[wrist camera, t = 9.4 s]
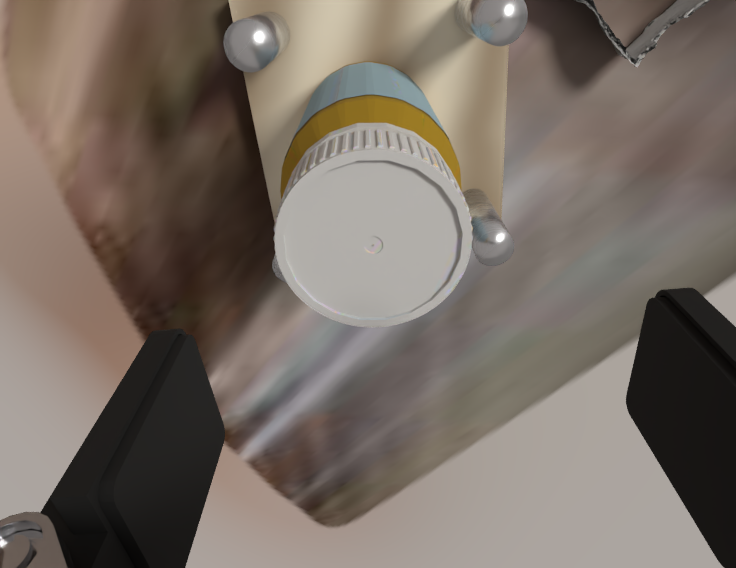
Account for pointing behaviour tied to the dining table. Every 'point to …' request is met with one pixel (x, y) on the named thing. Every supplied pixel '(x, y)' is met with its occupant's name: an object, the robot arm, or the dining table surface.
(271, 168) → the holder base
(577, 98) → the dining table surface
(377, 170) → the bottle
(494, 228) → the holder pins
